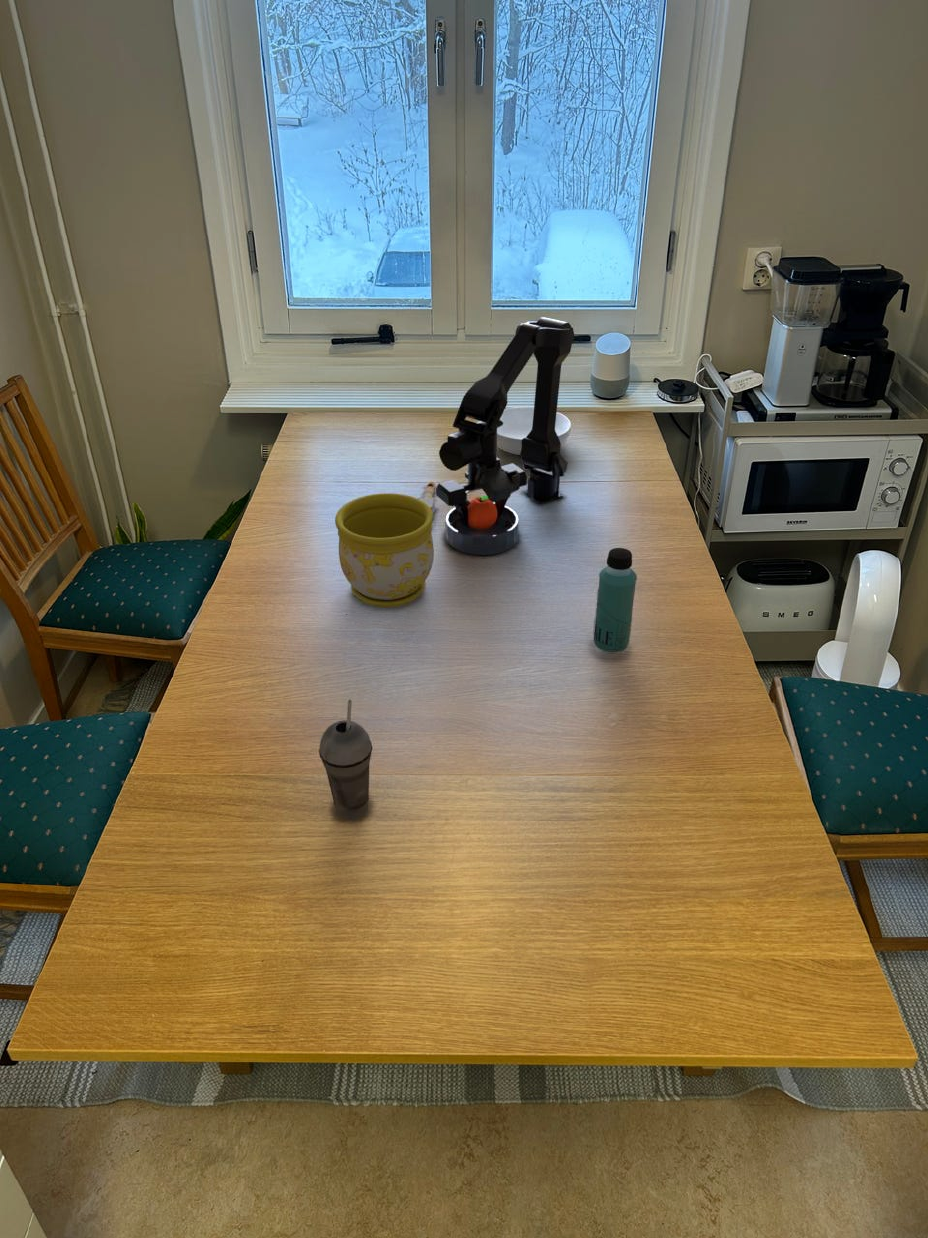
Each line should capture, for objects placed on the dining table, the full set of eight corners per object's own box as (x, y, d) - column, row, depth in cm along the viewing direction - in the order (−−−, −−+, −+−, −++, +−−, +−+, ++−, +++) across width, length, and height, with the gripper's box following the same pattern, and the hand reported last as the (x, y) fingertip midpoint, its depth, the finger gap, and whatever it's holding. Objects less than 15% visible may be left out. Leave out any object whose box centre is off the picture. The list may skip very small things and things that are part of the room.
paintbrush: (411, 517, 195) (423, 479, 212) (412, 529, 196) (423, 490, 213) (429, 518, 195) (440, 479, 211) (430, 529, 196) (440, 490, 213)
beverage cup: (327, 791, 135) (313, 685, 123) (377, 788, 135) (368, 682, 123) (325, 829, 129) (311, 721, 117) (377, 825, 129) (368, 718, 118)
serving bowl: (573, 466, 222) (574, 439, 218) (486, 466, 222) (486, 439, 218) (566, 430, 239) (567, 405, 235) (485, 430, 239) (485, 405, 235)
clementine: (484, 514, 197) (484, 485, 193) (507, 526, 193) (508, 496, 189) (457, 528, 193) (456, 497, 189) (480, 540, 189) (481, 509, 185)
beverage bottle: (632, 642, 164) (644, 545, 152) (624, 664, 159) (636, 565, 147) (596, 635, 166) (605, 539, 154) (587, 656, 161) (596, 558, 149)
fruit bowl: (493, 513, 203) (493, 495, 200) (531, 543, 192) (532, 524, 190) (433, 531, 197) (432, 512, 194) (469, 563, 186) (469, 544, 183)
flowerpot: (322, 591, 178) (314, 516, 168) (390, 555, 188) (386, 483, 179) (386, 628, 168) (381, 551, 158) (454, 588, 178) (453, 513, 169)
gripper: (462, 478, 174) (462, 550, 183) (544, 456, 181) (540, 525, 190) (433, 456, 181) (435, 526, 190) (513, 436, 189) (511, 503, 198)
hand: (482, 520), depth 192 cm, fingers closed on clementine, 8 cm apart
